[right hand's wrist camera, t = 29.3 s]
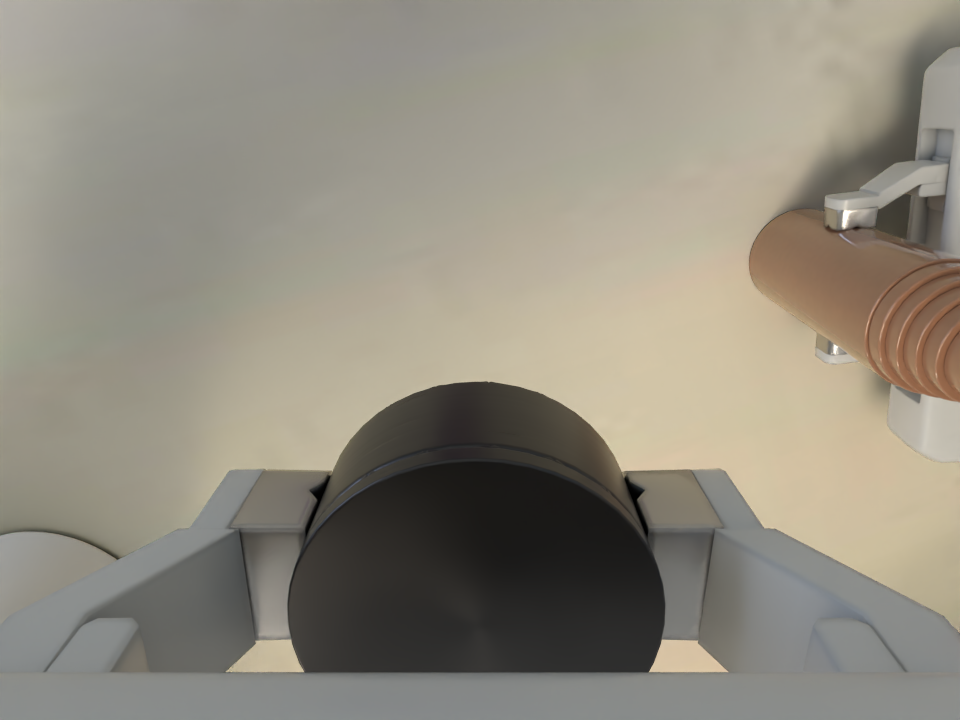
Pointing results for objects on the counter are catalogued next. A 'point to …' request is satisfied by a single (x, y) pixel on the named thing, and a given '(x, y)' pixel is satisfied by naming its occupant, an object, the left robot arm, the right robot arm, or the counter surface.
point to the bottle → (867, 297)
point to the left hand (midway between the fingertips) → (824, 282)
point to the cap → (476, 545)
